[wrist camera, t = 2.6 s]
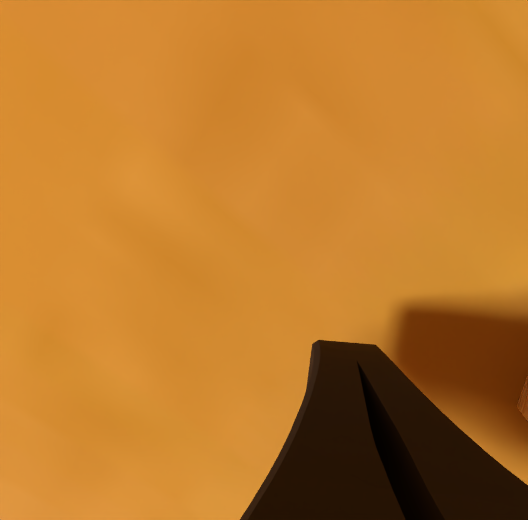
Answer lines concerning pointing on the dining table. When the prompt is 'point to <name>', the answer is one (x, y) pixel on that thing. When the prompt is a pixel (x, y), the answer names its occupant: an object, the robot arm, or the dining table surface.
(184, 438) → the dining table surface
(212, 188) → the dining table surface
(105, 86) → the dining table surface
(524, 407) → the lock block
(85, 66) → the dining table surface
